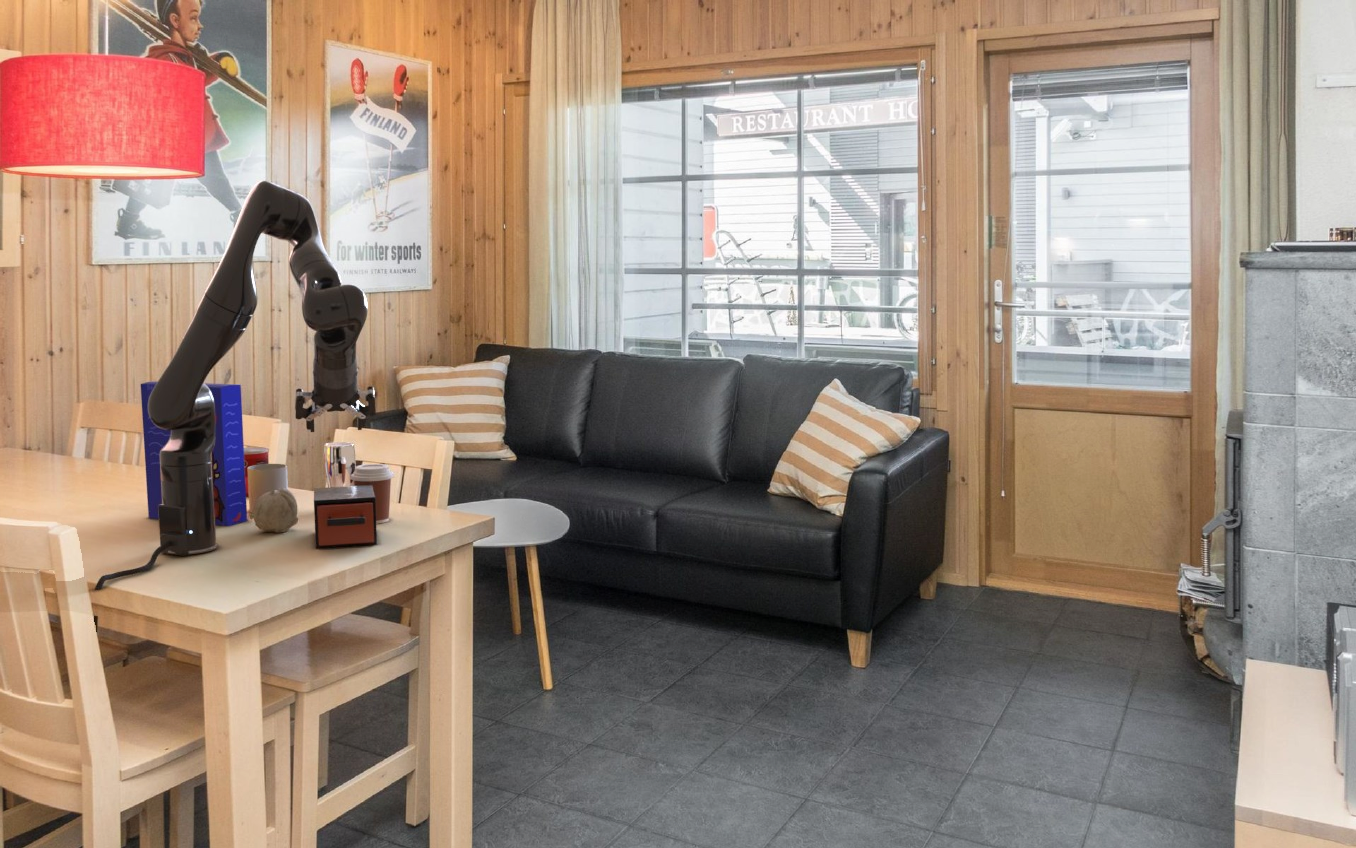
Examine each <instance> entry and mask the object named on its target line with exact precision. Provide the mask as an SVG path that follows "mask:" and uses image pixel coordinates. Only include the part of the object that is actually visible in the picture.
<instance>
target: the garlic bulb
mask: <svg viewBox="0 0 1356 848" xmlns="http://www.w3.org/2000/svg"><path fill="white" fill-rule="evenodd" d="M247 517H248V518H249V519H250V520H253V522H254V523H255V527H257V529H258V530H260V531H261V532H262V533H275V534H277V533H285V532H287V531H288V530H289V529H291V528H292V527H294V526H296V524H298V522H299V517H298V502H297V499H296V497H295V496H294V494H293V493H292V492H291V490H289V488H288V489H285V488H281V489H279V490H273V491H271V492H267V493H265V494H263V495H262V496H260V497H259V498H258V499H257V500H256V502H255V505H254V507H253V513H248V514H247Z"/></svg>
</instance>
